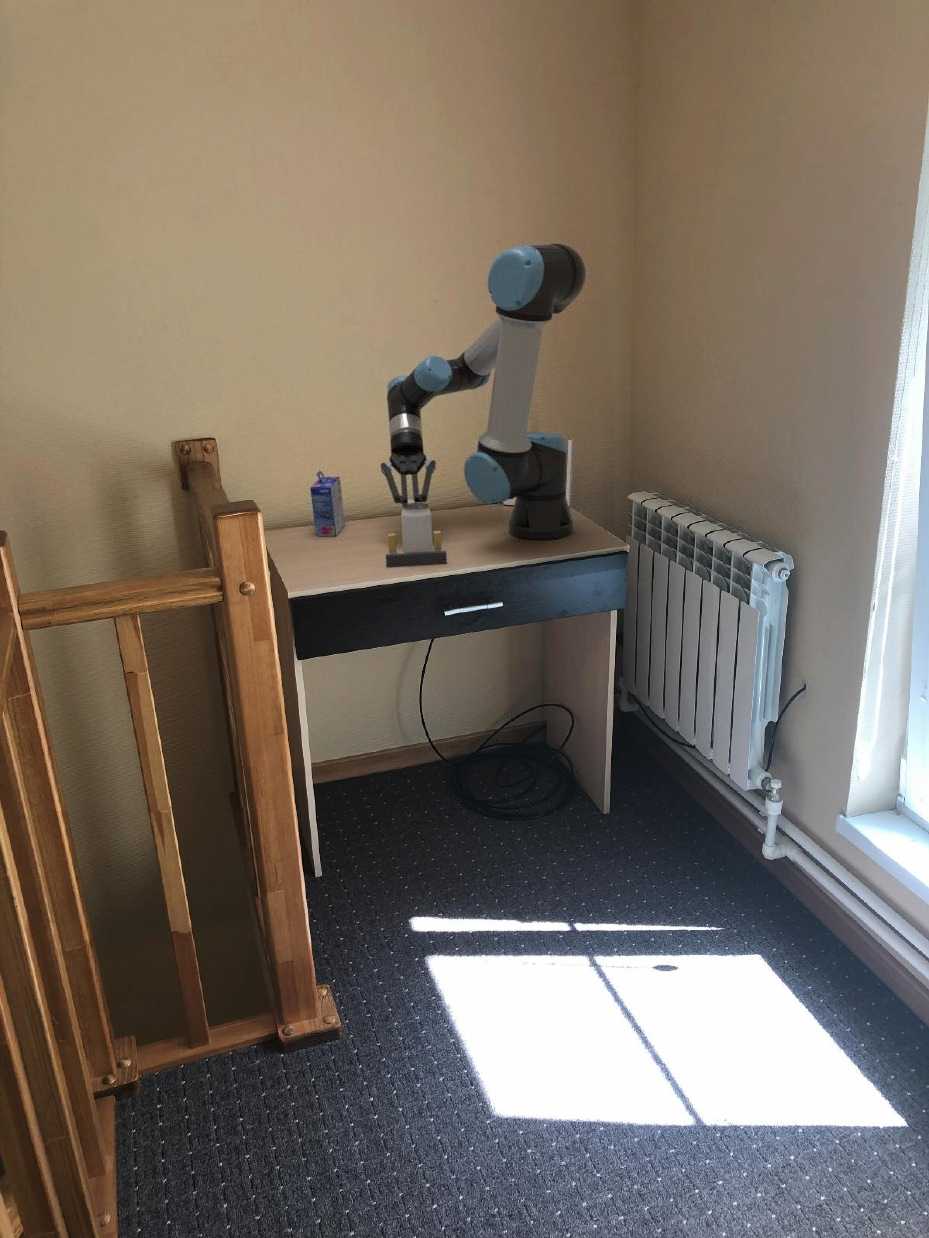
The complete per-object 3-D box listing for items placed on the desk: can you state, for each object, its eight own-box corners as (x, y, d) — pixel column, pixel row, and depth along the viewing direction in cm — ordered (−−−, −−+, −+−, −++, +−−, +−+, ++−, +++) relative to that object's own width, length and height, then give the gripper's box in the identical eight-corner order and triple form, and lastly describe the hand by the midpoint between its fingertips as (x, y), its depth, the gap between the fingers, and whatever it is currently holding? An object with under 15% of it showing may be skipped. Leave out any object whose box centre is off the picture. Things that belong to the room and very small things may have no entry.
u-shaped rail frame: (441, 537, 240) (440, 516, 238) (446, 563, 222) (445, 541, 220) (386, 540, 239) (384, 520, 237) (386, 567, 221) (385, 544, 219)
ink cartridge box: (323, 524, 253) (318, 467, 248) (345, 524, 252) (340, 466, 247) (314, 536, 244) (308, 477, 239) (337, 536, 243) (331, 476, 238)
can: (438, 559, 225) (436, 506, 220) (413, 565, 221) (410, 511, 217) (423, 552, 230) (420, 500, 225) (398, 558, 226) (395, 505, 222)
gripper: (434, 446, 242) (441, 534, 233) (378, 448, 242) (384, 537, 232) (434, 428, 236) (442, 518, 226) (377, 431, 235) (383, 521, 226)
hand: (412, 528), depth 229 cm, fingers closed
